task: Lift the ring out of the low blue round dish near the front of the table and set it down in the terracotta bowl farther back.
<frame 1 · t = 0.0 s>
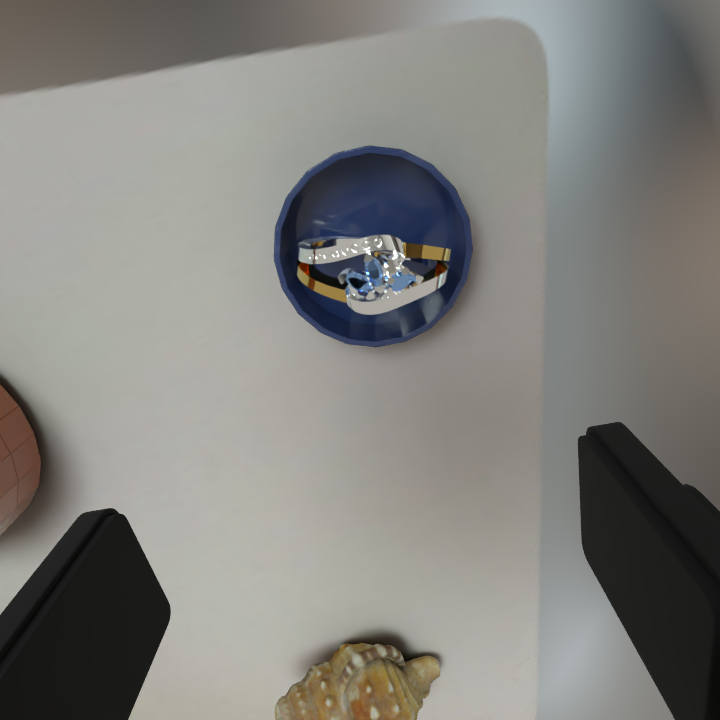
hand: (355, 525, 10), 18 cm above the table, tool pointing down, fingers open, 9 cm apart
blue round dish: (371, 244, 26), on the table
seashell: (361, 657, 39), on the table
ring: (371, 244, 26), resting on blue round dish
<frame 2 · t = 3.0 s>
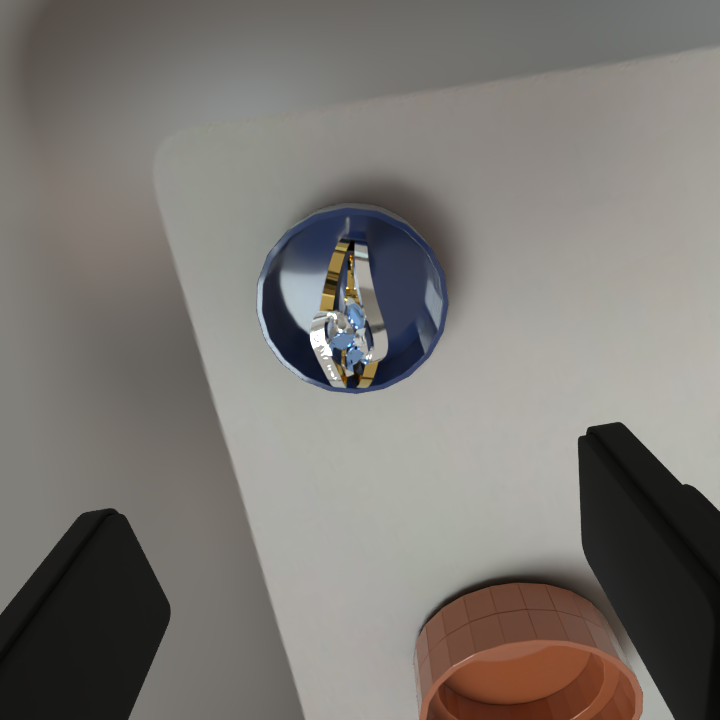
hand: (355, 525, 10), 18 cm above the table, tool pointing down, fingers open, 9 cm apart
blue round dish: (353, 292, 26), on the table
ring: (353, 292, 26), resting on blue round dish
bowl: (509, 647, 37), on the table
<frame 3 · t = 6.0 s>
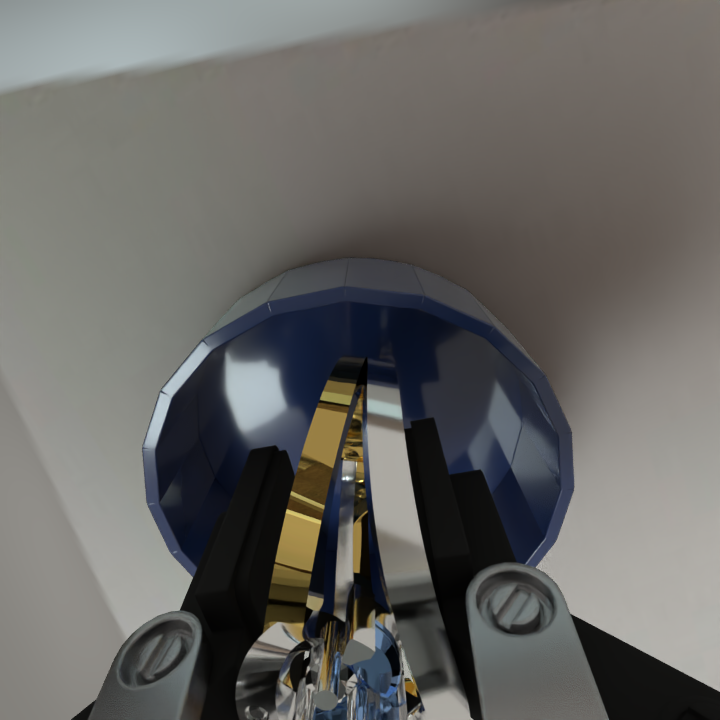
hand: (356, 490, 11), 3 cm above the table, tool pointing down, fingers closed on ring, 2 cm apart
blue round dish: (359, 426, 13), on the table
ring: (359, 426, 13), resting on blue round dish, touching gripper
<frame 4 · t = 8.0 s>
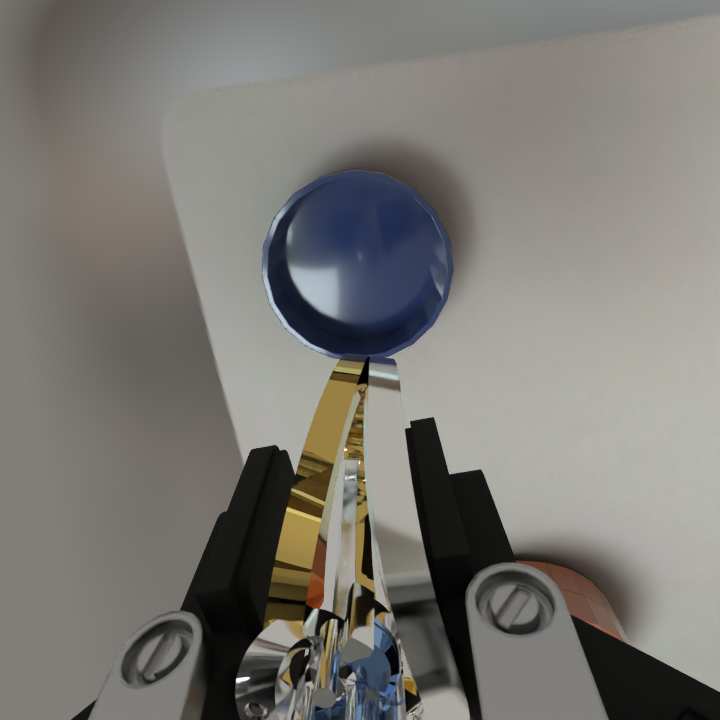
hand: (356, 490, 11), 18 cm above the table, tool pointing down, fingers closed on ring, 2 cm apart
blue round dish: (358, 261, 26), on the table
ring: (362, 425, 13), point 15 cm above the table, touching gripper
bowl: (509, 627, 37), on the table
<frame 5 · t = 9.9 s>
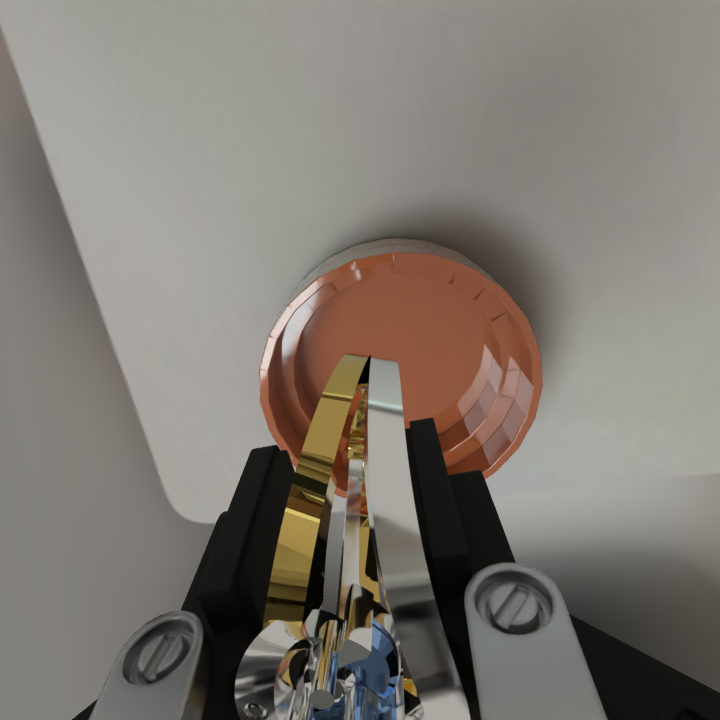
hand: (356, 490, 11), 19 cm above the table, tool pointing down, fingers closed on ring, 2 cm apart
ring: (366, 425, 13), point 16 cm above the table, touching gripper
bowl: (394, 358, 30), on the table
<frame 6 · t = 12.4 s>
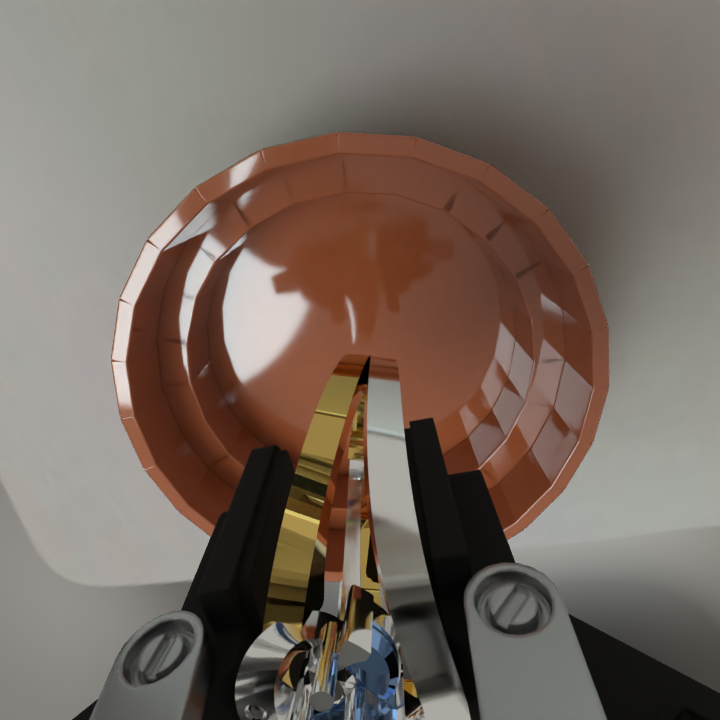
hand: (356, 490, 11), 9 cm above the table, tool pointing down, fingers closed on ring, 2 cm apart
ring: (366, 425, 13), point 6 cm above the table, touching gripper
bowl: (361, 344, 19), on the table
when the fingers open (3 cm above the table, at t = 14.1 s): ring stays where it is, resting on bowl.
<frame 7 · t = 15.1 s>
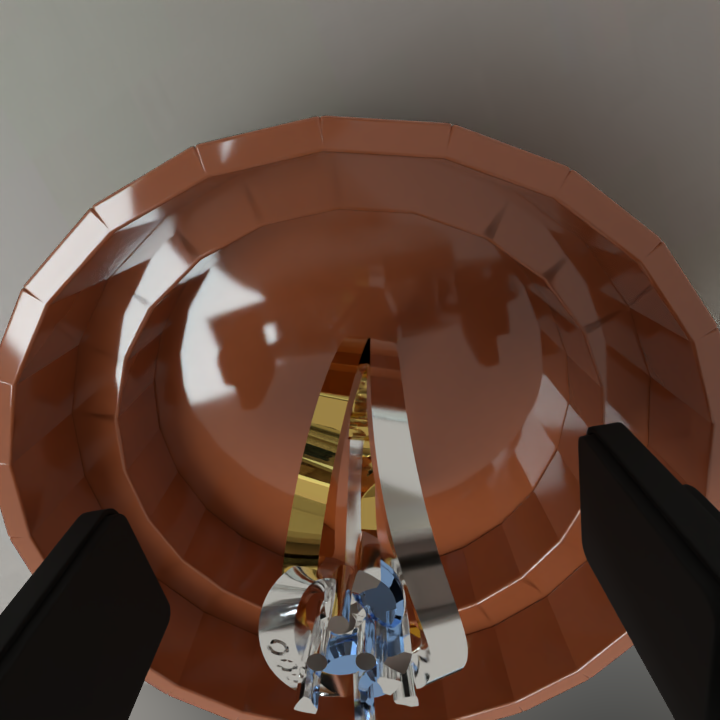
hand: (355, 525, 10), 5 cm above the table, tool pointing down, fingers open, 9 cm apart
ring: (364, 409, 14), resting on bowl
bowl: (360, 405, 15), on the table
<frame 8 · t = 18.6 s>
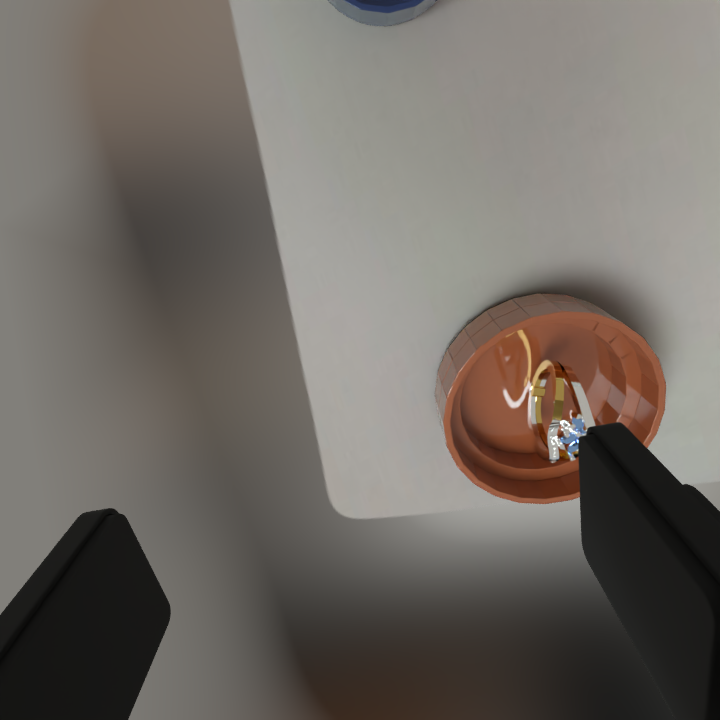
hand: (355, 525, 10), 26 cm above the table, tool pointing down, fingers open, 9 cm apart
ring: (533, 385, 37), resting on bowl
bowl: (530, 384, 38), on the table
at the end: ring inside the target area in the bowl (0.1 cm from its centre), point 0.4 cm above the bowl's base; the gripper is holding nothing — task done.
